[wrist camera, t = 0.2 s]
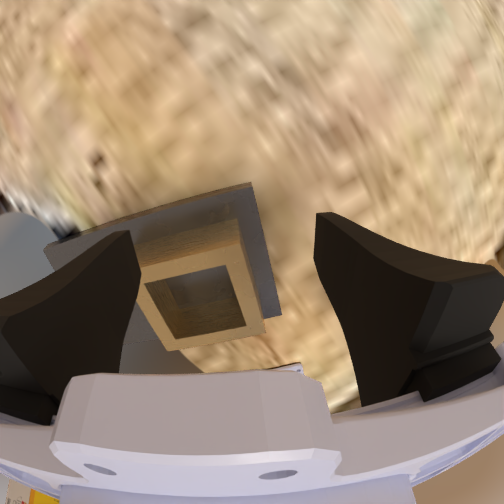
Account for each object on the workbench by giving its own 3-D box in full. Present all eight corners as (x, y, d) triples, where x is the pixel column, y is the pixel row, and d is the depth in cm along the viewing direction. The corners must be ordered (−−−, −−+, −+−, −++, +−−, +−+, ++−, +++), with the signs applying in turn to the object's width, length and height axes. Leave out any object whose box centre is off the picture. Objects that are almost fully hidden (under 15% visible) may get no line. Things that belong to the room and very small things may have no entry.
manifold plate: (280, 307, 26) (289, 344, 23) (108, 339, 27) (98, 373, 23) (250, 181, 20) (257, 207, 16) (48, 244, 21) (23, 274, 17)
